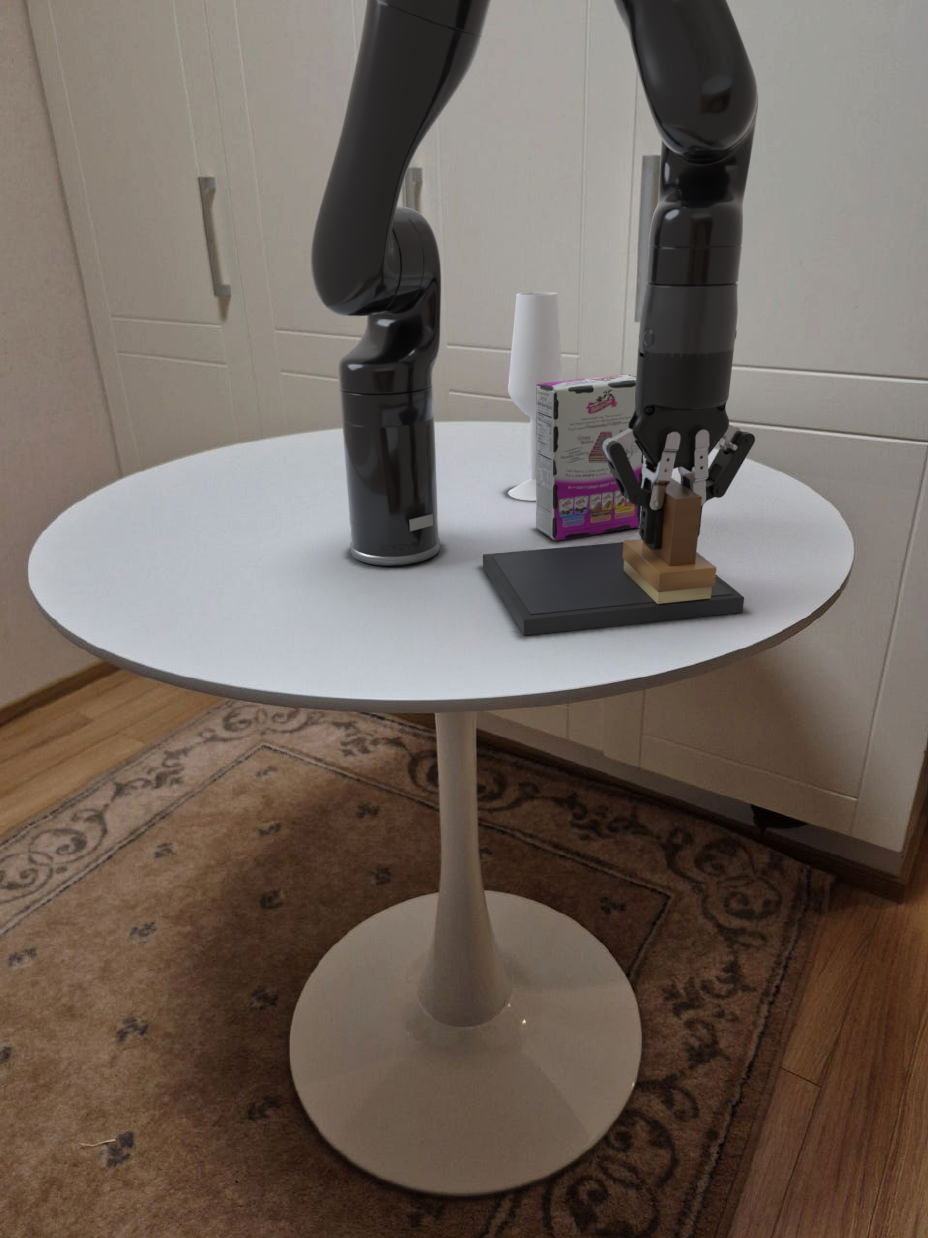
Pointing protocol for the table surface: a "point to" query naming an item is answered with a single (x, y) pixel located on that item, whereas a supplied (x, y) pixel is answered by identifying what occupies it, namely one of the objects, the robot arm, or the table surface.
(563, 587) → the panel
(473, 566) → the table surface
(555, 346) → the champagne flute
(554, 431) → the candy bar box
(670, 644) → the table surface
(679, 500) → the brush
